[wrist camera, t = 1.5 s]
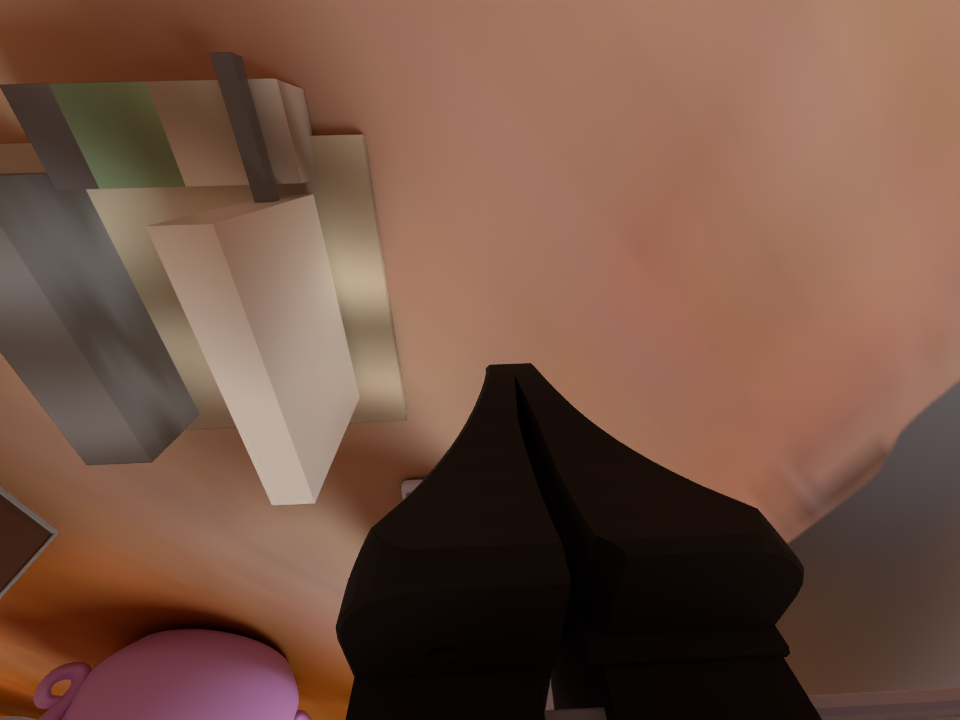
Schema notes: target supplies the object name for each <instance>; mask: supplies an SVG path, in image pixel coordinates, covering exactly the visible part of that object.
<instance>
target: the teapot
mask: <svg viewBox="0 0 960 720" xmlns="http://www.w3.org/2000/svg"><path fill="white" fill-rule="evenodd" d="M64 679H70V680H71V681H72V683H71V686H70V688H69V689H68V690H67V692H66V693H65V694H64V695H63V696H55V695H52V694H51V688H52V686H53V685H54V684H55V683H56V682H58V681H60V680H64ZM33 700H34V703H35V705H36V706H37V707H38V708H42V709H47V708H50V709H49V710H48V711H47V712H46V713H45V714H44V715H43V716H42V717H41V718H40V719H39V720H59V719H60V718H61V717H62V716H63V715H64V716H63V718H62V720H311V718H310V716H309V715H308V714H307V713H306V712H305V711H303V710H297V708H298V701H299V695H298V689H297V685H296V682H295V679H294V676H293V673H292V671H291V668H290V666H289V663H288V662H287V660H286V659H285V658H284V657H283V656H282V655H281V654H280V653H278V652H277V651H276V650H274V649H272V648H271V647H269V646H267V645H265V644H263V643H261V642H258V641H255V640H253V639H250V638H247V637H243V636H240V635H236V634H232V633H227V632H221V631H214V630H206V629H175V630H167V631H161V632H157V633H153V634H150V635H148V636H145V637H143V638H141V639H139V640H138V641H136V642H134V643H132V644H130V645H128V646H126V647H124V648H123V649H121V650H119V651H117V652H116V653H114V654H112V655H111V656H109V657H107V658H106V659H105V660H103V661H102V662H101V663H99V664H98V665H97V666H96V667H95V668H94V669H93V670H92V669H91V666H90V665H89V664H87V663H84V662H72V663H67V664H64V665H61V666H59V667H57V668H56V669H54V670H52V671H51V672H50V673H49V674H48V675H47V676H45V678H44V679H43V680H42V681H41V682H40V684H39V685H38V687H37V689H36V691H35V694H34V698H33Z"/></svg>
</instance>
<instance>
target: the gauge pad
mask: <svg viewBox="0 0 960 720" xmlns="http://www.w3.org/2000/svg"><path fill="white" fill-rule="evenodd" d="M210 56H211V60H212V63H213V66H214V70H215V73H216V76H217V79H218V83H219V86H220V89H221V93H222V96H223V99H224V103H225V106H226V109H227V112H228V116H229V119H230V122H231V126H232V129H233V132H234V136H235V139H236V142H237V145H238V149H239V152H240V155H241V159H242V162H243V165H244V169H245V172H246V175H247V178H248V182H249V185H250V188H251V192H252V195H253V198H254V200H251V201H247V202H243V203H239V204H235V205H231V206H226V207H222V208H218V209H214V210H210V211H206V212H202V213H198V214H193V215H189V216H185V217H181V218H177V219H173V220H169V221H165V222H161V223H156V224H152V225H148V226H146V229H147V231H148V233H149V235H150V237H151V240H152V242H153V244H154V246H155V248H156V251H157V253H158V255H159V257H160V259H161V262H162V264H163V266H164V268H165V270H166V273H167V275H168V277H169V279H170V281H171V284H172V286H173V288H174V290H175V293H176V295H177V297H178V299H179V301H180V304H181V306H182V308H183V310H184V312H185V315H186V317H187V319H188V321H189V323H190V326H191V328H192V330H193V332H194V334H195V337H196V339H197V341H198V343H199V345H200V348H201V350H202V352H203V354H204V357H205V359H206V361H207V363H208V365H209V368H210V370H211V372H212V374H213V376H214V379H215V381H216V383H217V385H218V387H219V390H220V392H221V394H222V396H223V398H224V401H225V403H226V405H227V407H228V409H229V412H230V414H231V416H232V418H233V421H234V423H235V425H236V427H237V429H238V432H239V434H240V436H241V438H242V440H243V443H244V445H245V447H246V449H247V451H248V454H249V456H250V458H251V460H252V462H253V465H254V467H255V469H256V471H257V473H258V476H259V478H260V480H261V482H262V485H263V487H264V489H265V491H266V493H267V496H268V498H269V500H270V502H271V504H272V505H289V504H312V503H315V502H316V500H317V497H318V495H319V492H320V490H321V488H322V485H323V483H324V481H325V478H326V476H327V474H328V471H329V469H330V466H331V464H332V462H333V459H334V457H335V455H336V452H337V450H338V448H339V445H340V443H341V440H342V438H343V436H344V433H345V431H346V429H347V426H348V424H349V422H350V419H351V417H352V414H353V412H354V410H355V407H356V405H357V403H358V400H359V398H360V397H359V393H358V388H357V384H356V379H355V375H354V371H353V366H352V362H351V357H350V353H349V348H348V344H347V340H346V335H345V331H344V326H343V322H342V318H341V313H340V309H339V304H338V300H337V296H336V291H335V287H334V282H333V278H332V274H331V269H330V265H329V260H328V256H327V252H326V247H325V243H324V238H323V234H322V230H321V225H320V221H319V216H318V212H317V208H316V203H315V199H314V194H296V195H279V194H278V190H277V186H276V183H275V179H274V175H273V172H272V168H271V164H270V160H269V157H268V153H267V149H266V146H265V142H264V138H263V135H262V131H261V127H260V123H259V120H258V116H257V112H256V109H255V105H254V101H253V98H252V94H251V90H250V86H249V83H248V79H247V75H246V72H245V68H244V64H243V61H242V57H241V56H238V55H236V54H234V53H231V52H218V53H210Z"/></svg>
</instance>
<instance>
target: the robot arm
mask: <svg viewBox="0 0 960 720" xmlns="http://www.w3.org/2000/svg"><path fill="white" fill-rule="evenodd" d="M408 492H410V493H408ZM401 493H402V498H403V501H402V502H401V503H400V504H398V505H397V506H396V507H395V508H394V509H393V510H392V511H390V512H389V513H388V514H387V515H386V516H385V517H384V518H382V519H381V520H380V521H379V522H378V523H377V524H375V525H374V526H373V527H372V528H371V529H370V531H369V533H368V535H367V537H366V539H365V541H364V543H363V545H362V548H361V550H360V552H359V554H358V557H357V559H356V562H355V564H354V567H353V569H352V572H351V574H350V577H349V580H348V583H347V586H346V590H345V594H344V597H343V601H342V605H341V609H340V613H339V616H338V620H337V624H336V633H337V638H338V641H339V644H340V646H341V648H342V650H343V652H344V655H345V657H346V659H347V661H348V664H349V666H350V668H351V670H352V673H353V675H354V682H353V687H352V692H351V696H350V701H349V706H348V711H347V716H346V720H960V688H941V689H924V690H905V691H888V692H869V693H853V694H852V693H851V694H833V695H815V696H807V694H806V693H805V691H804V690H803V688H802V686H801V685H800V683H799V682H798V680H797V678H796V677H795V675H794V673H793V672H792V670H791V669H790V667H789V665H788V664H787V662H786V661H785V659H784V657H787V656H788V655H789V654H790V651H789V646H788V645H787V643H786V642H785V640H784V639H783V637H782V636H781V634H780V633H779V631H778V629H777V628H776V626H775V624H776V623H777V622H778V620H779V619H780V618H781V616H782V615H783V614H784V612H785V611H786V610H787V608H788V607H789V606H790V604H791V603H792V602H793V600H794V599H795V597H796V596H797V594H798V592H799V590H800V588H801V586H802V584H803V580H804V579H803V578H804V577H803V576H804V567H803V566H802V564H801V562H800V561H799V559H798V558H797V556H796V555H795V554H794V552H793V551H792V550H791V549H790V548H789V546H788V545H787V544H786V542H785V541H784V540H783V539H782V537H781V536H780V535H779V534H778V532H777V531H776V530H775V529H774V528H773V526H772V525H771V524H770V523H769V522H768V520H767V519H766V518H765V517H764V516H763V515H762V513H761V512H760V511H759V510H758V509H757V508H754V507H752V506H750V505H747V504H745V503H742V502H740V501H737V500H735V499H733V498H730V497H728V496H725V495H723V494H720V493H718V492H716V491H713V490H711V489H708V488H706V487H703V486H701V485H699V484H697V483H695V482H693V481H691V480H689V479H686V478H684V477H682V476H680V475H678V474H676V473H674V472H672V471H670V470H668V469H666V468H664V467H662V466H660V465H659V464H657V463H655V462H653V461H651V460H649V459H648V458H646V457H644V456H643V455H641V454H639V453H637V452H636V451H634V450H632V449H631V448H629V447H627V446H626V445H624V444H623V443H621V442H619V441H618V440H616V439H615V438H613V437H612V436H611V435H609V434H608V433H606V432H605V431H603V430H602V429H601V428H599V427H598V426H596V425H595V424H594V423H593V422H591V421H590V420H589V419H587V418H586V417H585V416H584V415H583V414H581V413H580V412H579V411H578V410H577V409H576V408H574V407H573V406H572V405H571V404H570V403H569V402H568V401H567V400H566V399H565V398H564V397H563V396H562V395H561V394H560V393H559V392H558V391H557V390H556V389H555V388H554V387H553V386H552V385H551V384H550V383H549V382H548V381H547V380H546V379H545V378H544V377H543V376H542V375H541V373H540V372H539V371H538V370H537V369H536V368H535V367H534V366H533V365H532V364H531V363H524V364H497V365H489V366H488V367H487V368H486V376H485V380H484V384H483V387H482V390H481V392H480V395H479V397H478V400H477V402H476V405H475V407H474V409H473V411H472V413H471V414H470V416H469V418H468V420H467V422H466V424H465V426H464V427H463V429H462V431H461V432H460V434H459V436H458V437H457V439H456V440H455V441H454V443H453V444H452V446H451V447H450V449H449V450H448V451H447V453H446V454H445V455H444V456H443V458H442V459H441V460H440V462H439V463H438V464H437V465H436V466H435V468H434V469H433V470H432V471H431V472H430V473H429V474H428V475H427V477H426V478H425V479H423V480H407V481H404V482H403V483H402V486H401ZM0 720H37V719H31V718H26V717H11V716H10V717H0Z"/></svg>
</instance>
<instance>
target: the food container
mask: <svg viewBox="0 0 960 720" xmlns="http://www.w3.org/2000/svg"><path fill="white" fill-rule="evenodd" d="M59 533H60V532H59V531H58V530H56V529H55V528H54V527H52V526H51V525H50V524H49V523H47V522H46V521H45V520H43V519H42V518H41V517H40V516H38V515H37V514H36V513H34V512H33V511H32V510H31V509H29V508H28V507H27V506H25V505H24V504H23V503H21V502H20V501H19V500H18V499H16V498H15V497H14V496H12V495H11V494H10V493H9V492H7V491H6V490H5V489H3V488H2V487H1V486H0V599H1V598H2V597H3V595H4V594H5V593H6V592H7V591H8V590H9V589H10V588H11V587H12V585H13V584H14V583H15V582H16V581H17V580H18V579H19V578H20V577H21V575H22V574H23V573H24V572H25V571H26V570H27V569H28V568H29V567H30V565H31V564H32V563H33V562H34V561H35V560H36V559H37V558H38V557H39V555H40V554H41V553H42V552H43V551H44V550H45V549H46V548H47V547H48V545H49V544H50V543H51V542H52V541H53V540H54V539H55V538H56V537H57V535H58V534H59Z"/></svg>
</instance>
